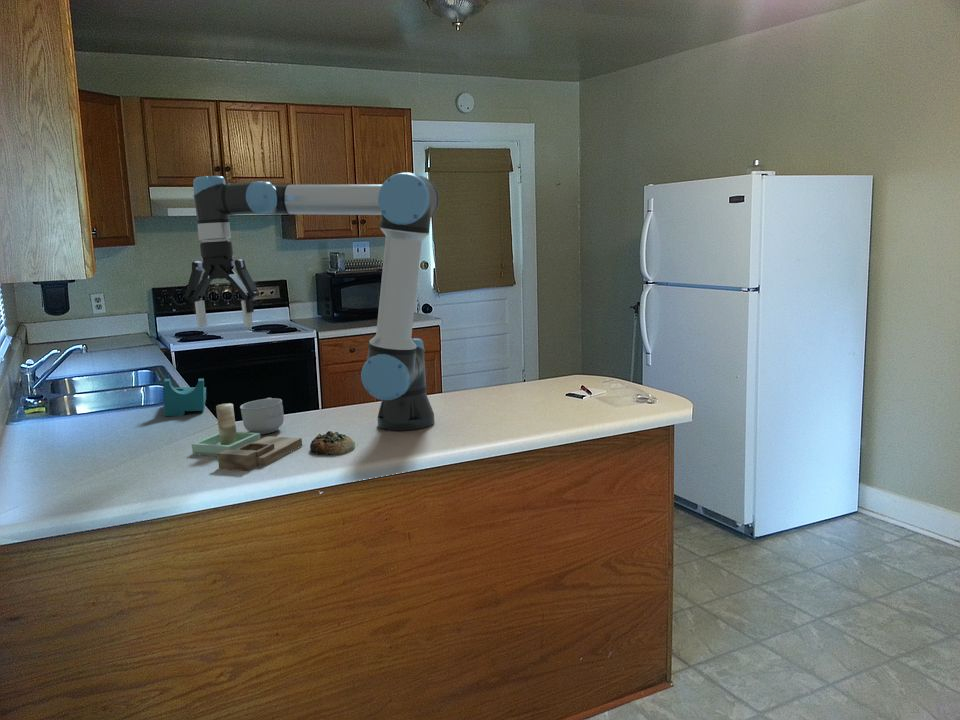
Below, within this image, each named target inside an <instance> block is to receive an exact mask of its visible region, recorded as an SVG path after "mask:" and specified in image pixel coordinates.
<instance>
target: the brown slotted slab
mask: <svg viewBox="0 0 960 720" xmlns="http://www.w3.org/2000/svg"><path fill="white" fill-rule="evenodd" d="M300 446H302V447H303V439H302V438H301V437H285V436H264V437H262V438H261V439H260V440H258V441H256V442H254V443H253V442H250V443H248V444H245V445H243V446H241V447H239V448H237V449H235V450H239V451H253V452H256V463H257V467H266V466H268V465H270V464H272V463H274V462H275V461H278V460H279V459H282V458H283V457H285V456H287V455H289V454H290V453H292V452H294V451H296V450H298V449H299V448H298V447H300ZM297 448H298V449H297ZM300 448H301V447H300ZM295 449H296V450H295ZM293 450H294V451H293ZM291 451H292V452H291ZM289 452H290V453H289ZM288 453H289V454H288ZM286 454H287V455H286ZM284 455H285V456H284ZM282 456H283V457H282Z"/></svg>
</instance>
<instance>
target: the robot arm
mask: <svg viewBox="0 0 960 720" xmlns="http://www.w3.org/2000/svg"><path fill="white" fill-rule="evenodd" d="M192 183H193V199H194V205H195V206H194V207H195V213H196V214H195V215H196V220H197V232H198V233H197V234H198V240H199V241H201V242H200V244H199V249H200V256H201V258H202V259H203V260H202V261H201V260H195V261H191V273H190V276H189V279H188V283H187V286H186V289H185V290H186V291H185V294H184V298H185V299H187V300H190V301H191V302H192V307H193V308H192V309H193V313H194V314H195V315H196V323H197V324H196V325H197V328H203V327H207V326H208V321H207V313H206V305H205V300H203V297H204V295H205V292H207V289H208V288H209V287H210V284H211V283H212V281H214V280H218V279H219V280H222V279H226V281H228V282H229V283H230V284H231V285H232V286H233V288H234V289H235V290H236V291H237V292H238V294H239V295H240V296H241V297H242V298H243V299H242V300H241V301H240V303H241V311H242V320H243V327H244V328H246V327H251V326H254V323H253V313H254V311H255V309H254V298H256V297H259V296H260V291H259V290H258V288H257V286H256V284H255V282H254V280H253V278H252V276H251V274H250V273H249V271H248V270H247V266H246V262H245V260H244V258H241V259H235V260H234V259H233V255H234V251H233V243H232V241H230V240H229V239H231V238H232V233H231V226H230V224H231V223H230V216H236V215H237V216H238V215H239V216H240V215H272V216H275V215H276V216H277V215H278V216H280V215H330V216H331V215H334V216H335V215H337V216H339V215H345V216H346V215H351V216H354V215H357V216H359V215H360V216H362V215H363V216H367V215H368V216H380V225H379V228H380V230H381V232H382V233H383V235H385V239H384V241H385V242H384V252H383V262H382V271H381V272H382V273H381V282H380V289H379V290H380V291H379V294H380V295H379V301H378V302H379V303H378V313H377V321H376V322H377V323H376V331H375V333H376V334H375V335H374V336H373V337H372V338H371V339H370V340H369V342H368V348H367V349H368V351H367V358H366V359H367V360H366V361H364V364H363V366H362V369H361V372H360V373H361V375H360V379H361V382H362V385H363V388H364V389H365V390H366V391H367V392H368V393H369V394H370V396H372V397H374V399H375V398H376V399H378V400H381V401H380V407H379V411H378V413H377V427H378V428H380V429H382V430H386V431H396V432H397V431H412V430H420V429H423V428H427V427H430V426H432V425H433V424H435V413H434V410H433V407H432V405H431V403H430V400H429V397H428V395H427V382H426V363H425V362H426V361H425V347H424V346H425V345H424V341H423V340H422V339H421V338H412V335H413V334H412V333H413V324H414V315H415V306H416V305H415V304H416V297H417V287H418V279H419V269H420V259H421V252H422V251H421V250H422V242H423V240H424V239H425V238H426V237H428V236H429V235H430V228H431V227H430V226H431V218H432V217H433V216H435V214H436V212H437V211H438V209H439V206H440V194H439V190H438V188H437V187H436V185H435V184H434V182H432V181H431V180H430V179H429V178H428V177H425V176H422V175H419V174H416V173H413V172H404V171H403V172H400V173H399V172H398V173H396V174H393V175H391V176H389V177H388V178H387V179H386V180H385V181H384V182H383V183H382V184H272V183H271V182H270V181H257V180H256V181H251V182H249V181H248V182H238V183H226V179H225V178H224V176H221V175H211V176H210V175H206V176H205V175H204V176H197V177H195V178H194V179H193V181H192ZM234 269H235V270H236V272H235V271H234ZM203 270H204V272H203ZM202 273H203V274H202ZM200 279H201V280H200Z"/></svg>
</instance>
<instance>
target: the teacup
mask: <svg viewBox="0 0 960 720" xmlns="http://www.w3.org/2000/svg"><path fill="white" fill-rule="evenodd" d="M239 409H240V414H241V418H242V423H243V427H244V429H245V430H247V432H250V433H260V435H266V434H267V433H268V434H271V432H272V433H273V432H274V431H275V432H277V431H278V430H279V429H280V428H281V426H282V425H283V424H284V420H285V415H284V405H283V400H282V399H281V398H277V397H276V398H275V397H274V398H272V397H267V398H263V399H256V400H252V401H248V402H245V403H243V404H241V405H240V406H239Z"/></svg>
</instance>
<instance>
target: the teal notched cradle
mask: <svg viewBox="0 0 960 720" xmlns="http://www.w3.org/2000/svg"><path fill="white" fill-rule="evenodd" d="M206 400H207V387H206V386H205V379H204V378H198V380H197V384H196V386H195V387H194V386H193V387H192V386H191V387H190V386H189V387H175V386H173V384H172V381H171V378H165V379H164V381H163V406H164V407H163V408H164V409H163V410H164V412H163V413H164V415H163V416H164V417H182V416H185V414H186V412H201V411H204V410H205V407H206Z"/></svg>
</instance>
